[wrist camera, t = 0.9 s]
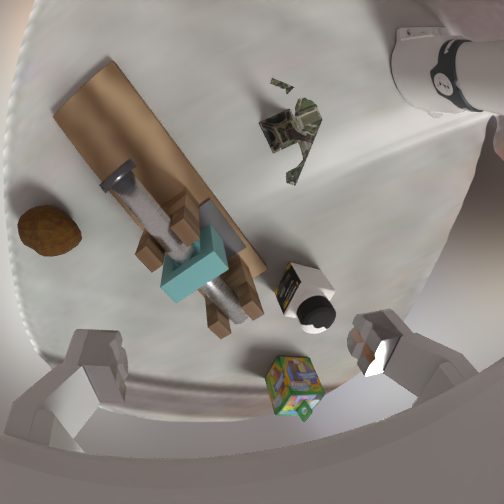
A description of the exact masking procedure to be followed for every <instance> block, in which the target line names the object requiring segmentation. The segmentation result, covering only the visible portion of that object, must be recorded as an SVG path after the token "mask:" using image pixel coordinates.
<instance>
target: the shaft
mask: <svg viewBox="0 0 504 504" xmlns="http://www.w3.org/2000/svg"><path fill="white" fill-rule="evenodd" d="M136 166H137V164H136V163H135V162H134V160H133V159H132V158H129V159H128V160H127V161H126V162H125V163H123V164H122V165H121V166H120V167H119V168H117V169H116V170H115V171H114V172H113V173H112V174H111V175H110V176H108V177H107V178H106V179H105V180H104V181H103V182H102V183H101V184H100V185H99V186H100V187H101V188H102V190H103V191H104V192H105V193H106V192H107V191H109V190H110V189H111V188H112V189H113V190H114V192H115V193H116V194H117V195H118V197H119V198H120V199H121V200H122V201H123V203H124V204H125V205H126V206H127V207H128V209H129V210H130V211H131V212H132V213H133V214H134V216H135V217H136V218H137V219H138V220H139V222H140V223H141V224H142V225H143V226H144V227H145V228H146V230H147V231H148V232H149V233H150V234H151V235H152V236H153V238H154V239H155V240H156V241H157V242H158V243H159V244H160V246H161V247H162V248H163V249H164V250H165V251H166V252H167V253H168V254H169V256H170V257H171V258H172V259H173V260H174V261H175V262H176V263H177V264H178V265H179V267H180V266H181V265H183V264H184V263H185V262H187V261H188V260H190V259H191V258H193V257H194V256H196V255H197V254H199V252H198V251H197V250H196V249H195V247H194V246H193V245H192V244H191V245H190V246H189V247H186V245H185V244H184V243H183V242H182V241H181V240H180V238H179V237H178V236H177V235H176V234H175V233H174V231H173V230H172V229H171V222H172V220H171V219H170V218H169V216H168V215H167V214H166V213H165V212H164V210H163V209H162V208H161V207H160V206H159V204H158V203H157V202H156V201H155V199H154V198H153V197H152V196H151V194H150V193H149V192H148V191H147V190H146V188H145V187H144V186H143V185H142V183H141V182H140V181H139V180H138V178H137V177H136V176H135V175H134V173H133V172H132V171H131V170H133V169H134V168H135V167H136ZM200 289H201V290H202V291H203V292H204V293H205V294H206V295H207V296H208V297H209V298H210V299H211V300H212V302H213V303H214V304H215V305H216V306H217V307H218V308H219V309H220V310H221V311H222V312H223V313H224V314H225V315H226V316H227V317H228V318H229V319H230V320H231V321H232V322H233V323H234V324H240V323H242V322H244V321H245V320H246V319H247V318H248V315H247V314H246V313H245V311H244V310H243V309H242V308H241V306H240V302H239V298H238V297H237V296H236V294H235V293H234V292H233V291H232V290H231V289H230V288H229V287H228V285H227V284H226V283H225V282H224V281H223V280H222V279H221V277H220V276H218V277H216V278H214V279H213V280H211V281H210V282H208V283H207V284H205V285H204V286H202V287H201V288H200Z"/></svg>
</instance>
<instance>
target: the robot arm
mask: <svg viewBox="0 0 504 504" xmlns="http://www.w3.org/2000/svg"><path fill="white" fill-rule="evenodd" d="M407 33H408V34H407ZM396 39H397V42H396V46H395V48H394V51H393V54H392V60H391V67H392V74H393V78H394V81H395V83H396V86H397V88H398V90H399V91H400V93H401V95H402V96H403V97H404V98H405V99H406V101H408V102H409V103H410V104H411V105H413V106H414V107H416V108H419V109H423V110H425V111H427V112H428V113H429V114H430V115H431V116H432V117H434V118H439V117H441V116H442V115H443V114H444V113H447V114H458V115H460V114H462V113H463V112H464V111H465V110H467V111H471V112H482V111H487V112H492V113H496V114H500V115H504V40H497V41H483V42H472V41H470V40H466V39H465V38H464V37H462V36H454V35H453V34H452V33H451V31H450V30H449V29H448V28H447V27H407V28H398V29H397V33H396ZM353 325H354V328H353V329H352V330H351V331H350V332H349V334H348V338H347V346H348V350H349V352H350V354H351V355H352V356H353V357H355V358H357V359H358V361H357V365H358V366H359V368H360V370H361V371H362V372H363V374H364V376H368V375H373V374H377V373H380V372H383V373H384V374H385V375H387V376H388V377H390V378H391V379H393V380H394V381H395V382H397V383H398V384H400V385H401V386H403V387H404V388H406V389H407V390H408V391H410V392H411V393H413V394H414V395H416V396H417V397H418V398H417V399H416V401H415V402H414V403H413V405H412V408H409V409H407V410H405V411H402V412H400V413H397V414H395V415H392V416H390V417H387V418H384V419H382V420H379V421H376V422H374V423H371V424H368V425H365V426H362V427H359V428H356V429H353V430H349V431H346V432H343V433H339V434H336V435H333V436H329V437H325V438H322V439H317V440H313V441H309V442H305V443H300V444H296V445H291V446H286V447H281V448H275V449H270V450H264V451H258V452H251V453H243V454H235V455H225V456H215V457H200V458H171V459H169V458H165V459H164V458H132V457H117V456H107V455H98V454H90V453H85V452H84V451H83V450H82V449H81V448H80V446H79V445H78V444H77V443H76V442H75V441H74V439H73V438H74V437H75V436H76V434H77V433H78V432H79V431H80V429H81V428H82V427H83V425H84V424H85V423H86V421H87V420H88V419H89V418H90V416H91V415H92V413H94V411H95V410H96V409H97V407H98V406H99V405H100V402H105V403H124V401H125V392H126V386H125V383H124V379H125V378H126V377H127V374H128V360H127V354H126V351H125V349H124V348H123V347H122V346H121V345H122V337H121V333H120V332H119V331H113V330H92V329H91V330H87V329H77V330H76V331H75V332H74V334H73V337H72V339H71V342H70V345H69V348H68V351H67V354H66V356H65V359H64V362H63V364H58V365H57V366H56V367H55V368H53V369H52V370H51V371H50V372H49V373H47V374H46V375H45V376H44V377H43V378H41V379H40V380H39V381H38V382H37V383H35V384H34V385H33V386H32V387H31V388H30V389H28V390H27V391H26V392H25V393H23V394H22V395H21V396H20V397H19V398H18V399H16V401H14V402H13V405H12V408H11V411H10V414H9V417H8V420H7V424H6V427H5V431H4V434H2V433H0V504H504V357H503V358H501V359H500V360H499V361H497V362H495V363H494V364H492V365H491V366H489V367H488V368H486V369H484V370H483V371H481V372H480V373H478V372H477V370H476V369H475V368H474V367H473V366H472V365H471V364H470V362H469V361H468V360H467V359H466V358H465V357H464V356H463V354H461V353H459V352H457V351H455V350H453V349H450V348H448V347H446V346H444V345H442V344H440V343H437V342H435V341H433V340H431V339H429V338H426V337H424V336H422V335H420V334H418V333H413V332H412V331H411V330H410V329H409V328H408V327H407V325H406V324H405V323H404V322H403V321H402V320H401V319H400V318H399V316H398V315H397V314H396V313H395V312H394V311H393V310H391V309H385V310H379V311H375V312H369V313H362V314H357V315H356V316H355V317H354V320H353Z"/></svg>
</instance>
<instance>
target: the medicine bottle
mask: <svg viewBox="0 0 504 504" xmlns="http://www.w3.org/2000/svg"><path fill="white" fill-rule="evenodd" d="M334 293H335V290H334V288H333V287H332V285H331V284H330V282H329V281H328V279H327V278H326V277H325V275H324V274H323V272H322V271H321V270H319V269H315V268H311V267H307V266H303V265H299V264H295V263H292V262H290V263H289V264H288V266H287V268H286V270H285V272H284V274H283V276H282V278H281V280H280V283H279V285H278V287H277V289H276V291H275V295H276V297H277V300H278V302H279V305H280V307H281V310H282V312H283V314H284V316H286V317H292V318H297V319H298V321H299V323H300V325H301V327H302V329H303V330H304V331H305V332H307V333H312V334H315V333H320V332H323V331H325V330H326V329H328V328H329V327H330V326H331V325H332V323H333V322H334V320H335V317H336V312H335V309H334V308H333V306H332V304H331V303H330V300H331V298H332V296H333V295H334Z"/></svg>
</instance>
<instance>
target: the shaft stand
mask: <svg viewBox="0 0 504 504" xmlns="http://www.w3.org/2000/svg"><path fill="white" fill-rule="evenodd" d="M53 118H54V119H55V121H56V122H57V123H58V125H59V126H60V127H61V129H62V130H63V132H64V133H65V134H66V136H67V137H68V138H69V140H70V141H71V142H72V144H73V145H74V146H75V148H76V149H77V150H78V152H79V153H80V154H81V156H82V157H83V158H84V159H85V161H86V162H87V163H88V165H89V166H90V167H91V168H92V170H93V171H94V172H95V174H96V175H97V176H98V177H99V179H100V180H101V181H102V182H103V181H104V180H105V179H106V178H107V177H108V176H110V175H111V174H112V173H113V172H114V171H115V170H116V169H117V168H119V167H120V166H121V165H122V164H123V163H125V162H126V161H127V160H128V159H129V158H132V159H133V160H134V162H135V163H136V164H137V166H136V167H135V168H134V169H133V170H131V171H132V172H133V173H134V175H135V176H136V177H137V178H138V180H139V181H140V182H141V183H142V185H143V186H144V187H145V188H146V190H147V191H148V192H149V193H150V194H151V196H152V197H153V198H154V199H155V201H156V202H157V203H158V204H159V206H160V207H161V208H162V209H163V210H164V212H165V213H166V214H167V215H168V216H169V218H170V219H171V220H172V222H171V229H172V230H173V231H174V233H175V234H176V235H177V236H178V237H179V238H180V240H181V241H182V242H183V243H184V244H185V245H186V247H189V246H190V245H191V244H193V243H194V242H196V241H197V240H199V239H200V230H202V229H203V228H204V227H206V226H207V225H209V224H211V225H212V227H213V228H214V229H215V231H216V232H217V233H218V234H219V236H220V237H221V238H222V239H223V244H224V249H225V253H226V258H227V263H228V267H229V269H228V270H227V271H225V272H224V273H222V274H221V275H219V276H220V277H221V279H222V280H223V281H224V282H225V283H226V284H227V285H228V287H229V288H230V289H231V290H232V291H233V292H234V293H235V294H236V296H237V297H238V298H239V302H240V306H241V308H242V309H243V310H244V311H245V313H246V314H247V315H248V316H249V317H250V318H251V319H252V320H255V319H257V318H258V317H260V316H262V315H263V314H264V312H263V309H262V306H261V303H260V300H259V297H258V294H257V291H256V288H255V285H254V282H253V278H255V277H257V276H258V275H260V274H261V273H263V272H264V271H266V270H268V268H267V266H266V264H265V263H264V261H263V260H262V259H261V257H260V256H259V255H258V253H257V252H256V251H255V249H254V248H253V247H252V245H251V244H250V243H249V241H248V240H247V238H246V237H245V236H244V234H243V233H242V232H241V230H240V229H239V228H238V226H237V225H236V224H235V222H234V221H233V220H232V218H231V217H230V216H229V214H228V213H227V212H226V210H225V209H224V207H223V206H222V205H221V203H220V202H219V201H218V199H217V198H216V197H215V195H214V194H213V193H212V191H211V190H210V189H209V187H208V186H207V185H206V183H205V182H204V181H203V179H202V178H201V177H200V175H199V174H198V173H197V171H196V170H195V168H194V167H193V166H192V164H191V163H190V162H189V160H188V159H187V158H186V156H185V155H184V154H183V152H182V151H181V150H180V148H179V147H178V146H177V144H176V143H175V142H174V140H173V139H172V138H171V136H170V135H169V134H168V132H167V131H166V130H165V128H164V127H163V126H162V124H161V123H160V122H159V120H158V119H157V118H156V116H155V115H154V114H153V112H152V111H151V110H150V108H149V107H148V106H147V104H146V103H145V102H144V100H143V99H142V98H141V96H140V95H139V94H138V92H137V91H136V90H135V88H134V87H133V86H132V84H131V83H130V82H129V80H128V79H127V78H126V76H125V75H124V74H123V72H122V71H121V70H120V68H119V67H118V66H117V64H116V63H115V62H113V61H112V62H110V63H109V64H108V65H107V66H105V67H104V68H103V69H102V70H101V71H99V72H98V73H97V74H96V75H95V76H94V77H93V78H91V79H90V80H89V81H88V82H87V83H86V84H85V85H84V86H83V87H81V88H80V89H79V90H78V91H77V92H76V93H75V94H74V95H73V96H72V97H71V98H70V99H69V100H68V101H67V102H66V103H65V104H64V105H63V106H62V107H61V108H60V109H59V110H58V111H57V112H56V113H55V114H54V116H53ZM109 191H110V192H111V193H112V195H113V196H114V197H115V198H116V199H117V201H118V202H119V203H120V204H121V205H122V207H123V208H124V209H125V210H126V211H127V213H128V214H129V215H130V216H131V217H132V218H133V220H134V221H135V222H136V223H137V224H138V225H139V227H140V228H141V229H142V230H143V234H142V237H141V239H140V242H139V245H138V248H137V250H136V253H135V255H136V256H137V258H138V259H139V260H140V261H141V262H142V263H143V264H144V265H145V266H146V267H147V268H148V269H149V270H150V271H151V272H153V271H155V270H156V269H158V268H159V267H160V266H162V265H163V262H164V256H165V255H166V254H168V253H167V252H166V251H165V250H164V249H163V248H162V247H161V246H160V244H159V243H158V242H157V241H156V240H155V239H154V238H153V236H152V235H151V234H150V233H149V232H148V231H147V230H146V228H145V227H144V226H143V225H142V224H141V223H140V222H139V220H138V219H137V218H136V217H135V216H134V214H133V213H132V212H131V211H130V210H129V209H128V207H127V206H126V205H125V204H124V203H123V201H122V200H121V199H120V198H119V197H118V195H117V194H116V193H115V192H114V190H113V189H112V188H111V189H110V190H109ZM197 290H198V291H199V292H200V293H201V294H202V295H203V296H204V297H205V301H206V313H207V324H208V328H209V329H210V330H211V331H212V332H213V333H215V334H216V335H217V336H218V337H219V338H220V339H222V338H224V337H226V336H227V335H229V334H231V329H230V323H229V318H228V317H227V316H226V315H225V314H224V313H223V312H222V311H221V310H220V309H219V308H218V307H217V306H216V305H215V304H214V303H213V302H212V300H211V299H210V298H209V297H208V296H207V295H206V294H205V293H204V292H203V291H202V290H201V289H200V288H199V289H197Z"/></svg>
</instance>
